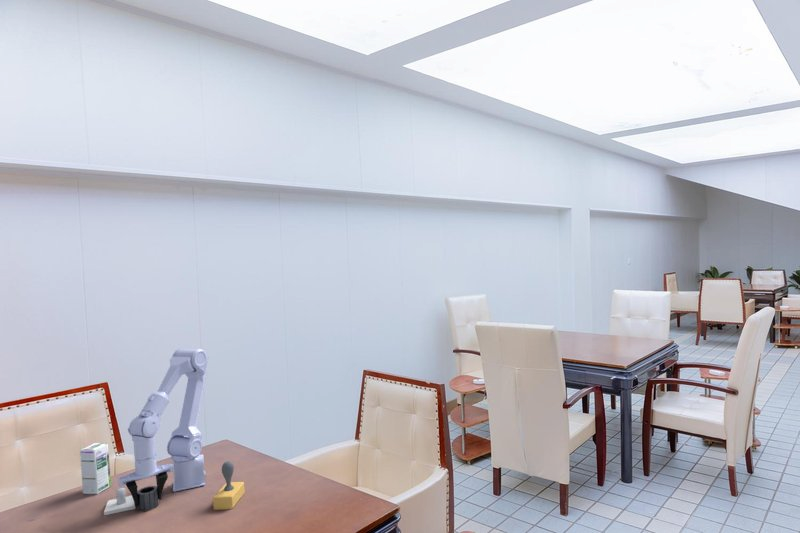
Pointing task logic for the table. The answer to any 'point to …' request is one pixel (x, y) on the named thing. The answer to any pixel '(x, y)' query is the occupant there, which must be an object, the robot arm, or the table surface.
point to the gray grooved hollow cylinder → (147, 498)
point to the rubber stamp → (228, 490)
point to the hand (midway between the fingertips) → (147, 501)
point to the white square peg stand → (119, 503)
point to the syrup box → (95, 468)
